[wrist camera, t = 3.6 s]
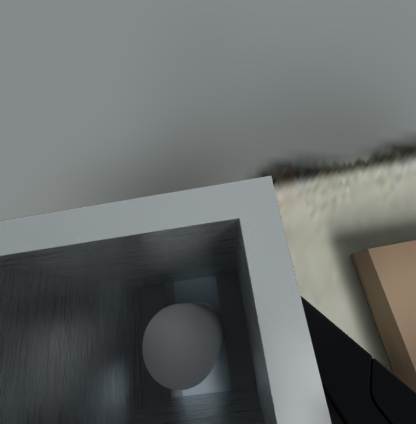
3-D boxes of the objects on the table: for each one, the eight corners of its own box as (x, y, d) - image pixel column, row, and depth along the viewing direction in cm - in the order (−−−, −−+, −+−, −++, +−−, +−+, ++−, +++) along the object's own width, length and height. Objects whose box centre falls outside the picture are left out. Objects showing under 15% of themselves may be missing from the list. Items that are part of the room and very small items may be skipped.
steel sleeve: (275, 403, 9) (423, 799, 2) (132, 420, 10) (-206, 810, 2) (248, 257, 11) (271, 175, 4) (129, 274, 12) (-62, 231, 4)
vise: (322, 487, 12) (435, 735, 5) (133, 505, 12) (10, 750, 5) (271, 252, 15) (296, 216, 9) (128, 273, 16) (51, 254, 9)
